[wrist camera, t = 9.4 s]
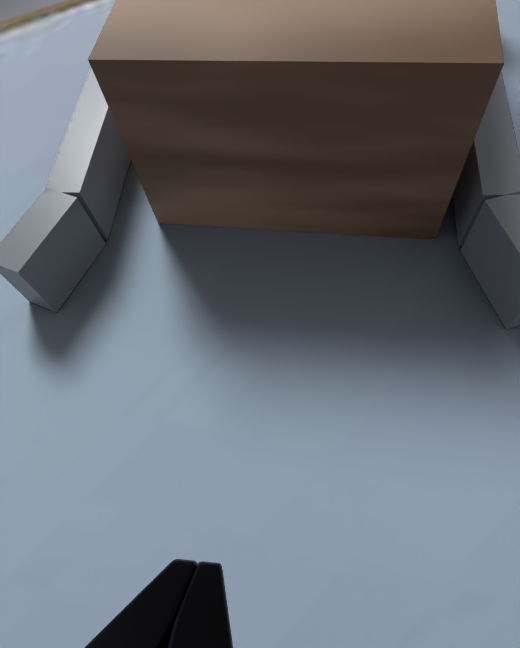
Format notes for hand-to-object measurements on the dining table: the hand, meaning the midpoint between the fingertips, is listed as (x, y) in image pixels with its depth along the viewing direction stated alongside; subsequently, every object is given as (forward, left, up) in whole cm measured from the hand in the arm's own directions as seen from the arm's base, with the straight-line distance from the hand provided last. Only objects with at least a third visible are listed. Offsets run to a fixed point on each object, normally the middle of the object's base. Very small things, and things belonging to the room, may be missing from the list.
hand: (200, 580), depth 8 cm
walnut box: (+20, +3, -7) cm, 22 cm away
